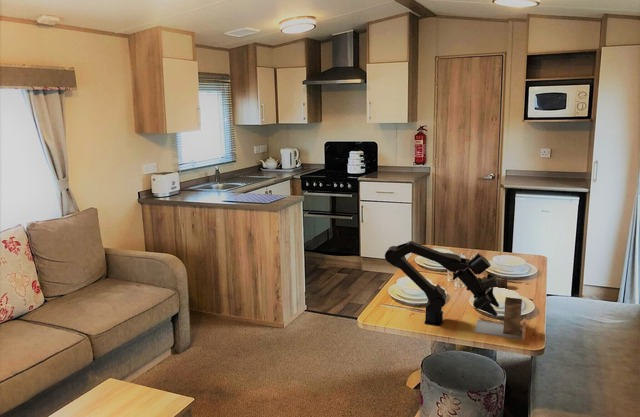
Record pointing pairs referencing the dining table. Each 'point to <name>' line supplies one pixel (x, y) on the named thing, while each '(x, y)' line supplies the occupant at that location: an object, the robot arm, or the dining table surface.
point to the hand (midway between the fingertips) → (497, 310)
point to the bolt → (500, 282)
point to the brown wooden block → (512, 316)
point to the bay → (498, 329)
